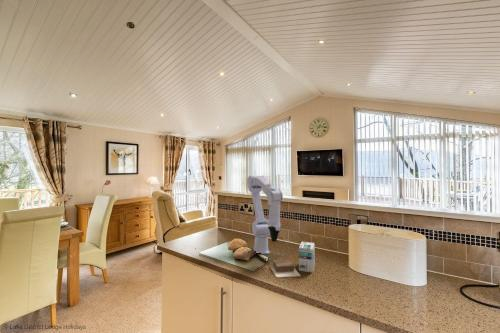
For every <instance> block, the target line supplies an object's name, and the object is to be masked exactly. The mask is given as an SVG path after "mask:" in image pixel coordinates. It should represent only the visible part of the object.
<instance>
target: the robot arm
mask: <svg viewBox="0 0 500 333" xmlns="http://www.w3.org/2000/svg"><path fill="white" fill-rule="evenodd" d="M246 184H247V188H248V191H249V192H250V193H251V199H252V204H253V209H254V215H255V220H253V222H252V223H251V227H252V229H251V230H252V234H253V236H255V237H254V247H253V248H252V249H253V252H255V251H256V252H259V253H261V254H260V255H263V254H264V255H265V254H267V255H268V254H271V252H270V250H269V237H270V239H271V242H273V243H274V242H277V240H278V236H279V233H280V231H281V202H282V201H283V199H284V198H283V192H282V191H281V190H278V189H276V188H275V187H274V186H273V185H272V184H271V183H268V182H267V180H266V177H265V176H264V175H248V177H247V182H246ZM260 192H263V194H264V195H265V196H266V199H267V205H268V218H265V214H264V209H263V208H264V207H263V205H262V199H261V193H260Z"/></svg>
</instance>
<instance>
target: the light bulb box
mask: <svg viewBox="0 0 500 333" xmlns="http://www.w3.org/2000/svg"><path fill="white" fill-rule="evenodd" d="M315 244H316V243H315V242H309V241H308V242H307V241H301V243H300V244H299V247H298V271H300V272H304V273H305V272H306V273H312V274H313V273H314V269H315V264H316V263H315V262H316V261H315V259H316V258H315V256H316V255H315V254H316V253H315V252H316V248H315V246H316V245H315Z"/></svg>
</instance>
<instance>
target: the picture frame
mask: <svg viewBox="0 0 500 333" xmlns="http://www.w3.org/2000/svg"><path fill="white" fill-rule="evenodd" d="M272 266H273V267H274V268H275V270H276V271H277V272H286V271H294V268H295V265H294V264H293V263H292V261H291V260H290V259H279V260H278V259H277V260H276V259H275V260H272Z"/></svg>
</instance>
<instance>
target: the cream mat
mask: <svg viewBox="0 0 500 333" xmlns="http://www.w3.org/2000/svg"><path fill="white" fill-rule="evenodd" d="M270 270H271V271H272V273H273V275H274V277H276V278H290V277H291V278H292V277H294V278H295V277H301V273H300V272H298V270H297V269H296V268H295V267H294V271H286V272H277V271H276V270H275V268H274V266H273V267H272V266H271V267H270Z"/></svg>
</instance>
